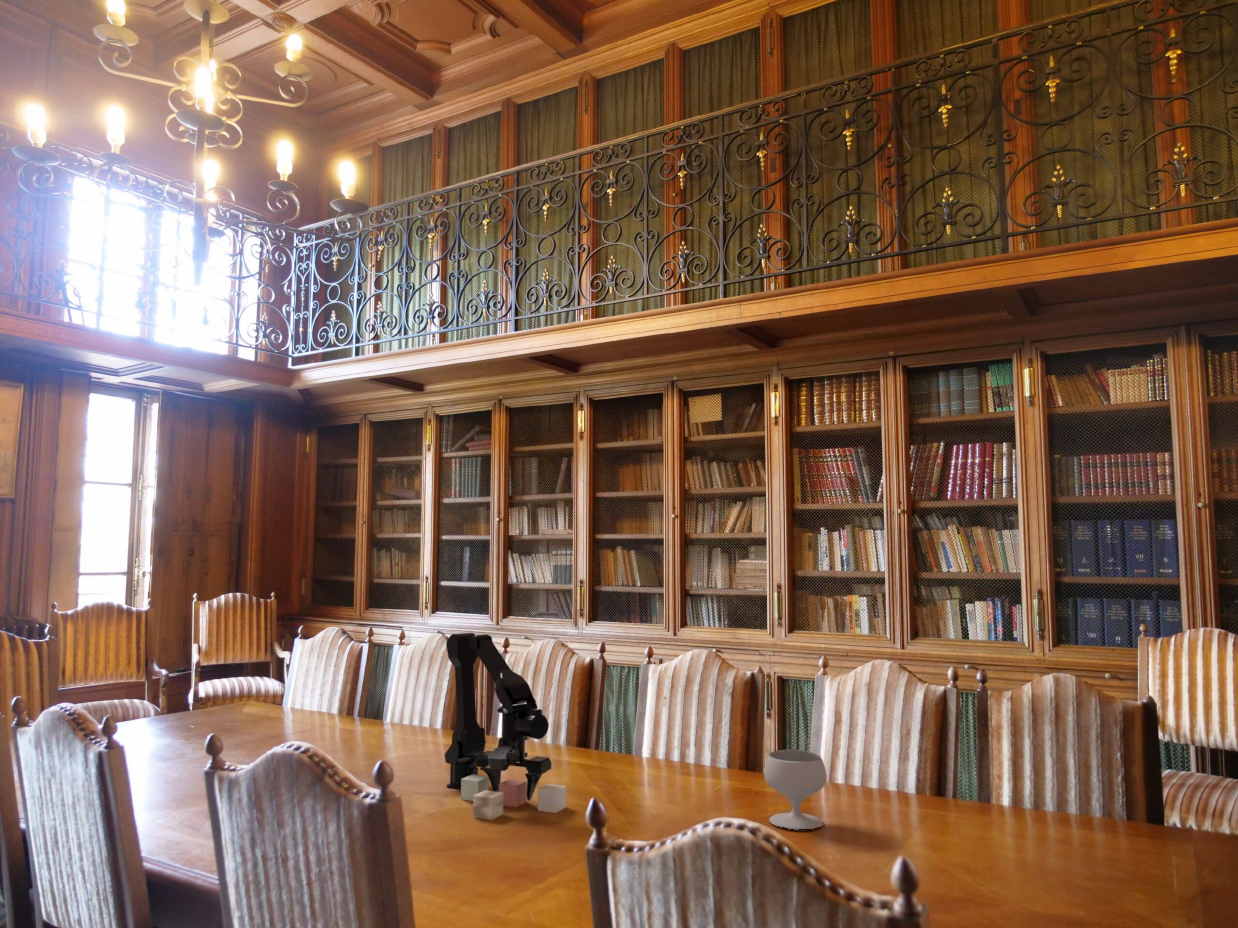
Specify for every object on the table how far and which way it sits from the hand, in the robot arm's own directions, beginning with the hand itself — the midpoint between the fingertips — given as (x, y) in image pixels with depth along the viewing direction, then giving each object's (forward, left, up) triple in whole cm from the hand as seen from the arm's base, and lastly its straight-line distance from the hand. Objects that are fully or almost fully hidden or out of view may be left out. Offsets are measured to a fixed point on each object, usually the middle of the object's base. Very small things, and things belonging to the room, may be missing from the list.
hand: (512, 797), depth 206 cm
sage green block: (-11, 0, -1) cm, 11 cm away
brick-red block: (0, 0, -1) cm, 1 cm away
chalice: (+67, +13, -1) cm, 68 cm away
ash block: (0, -11, -1) cm, 11 cm away
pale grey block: (+11, 0, -1) cm, 11 cm away
